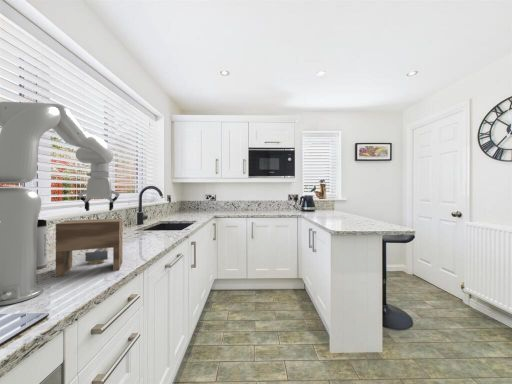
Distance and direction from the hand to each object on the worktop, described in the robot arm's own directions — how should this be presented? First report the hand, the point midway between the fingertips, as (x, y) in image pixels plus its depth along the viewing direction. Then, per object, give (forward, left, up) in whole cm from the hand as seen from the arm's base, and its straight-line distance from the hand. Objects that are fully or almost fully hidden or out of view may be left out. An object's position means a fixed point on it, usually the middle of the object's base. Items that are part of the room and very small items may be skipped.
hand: (99, 210), depth 120 cm
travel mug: (-15, +19, -22) cm, 33 cm away
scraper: (-7, -2, -21) cm, 22 cm away
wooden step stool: (-25, -2, -21) cm, 33 cm away
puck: (-14, -1, -22) cm, 26 cm away
